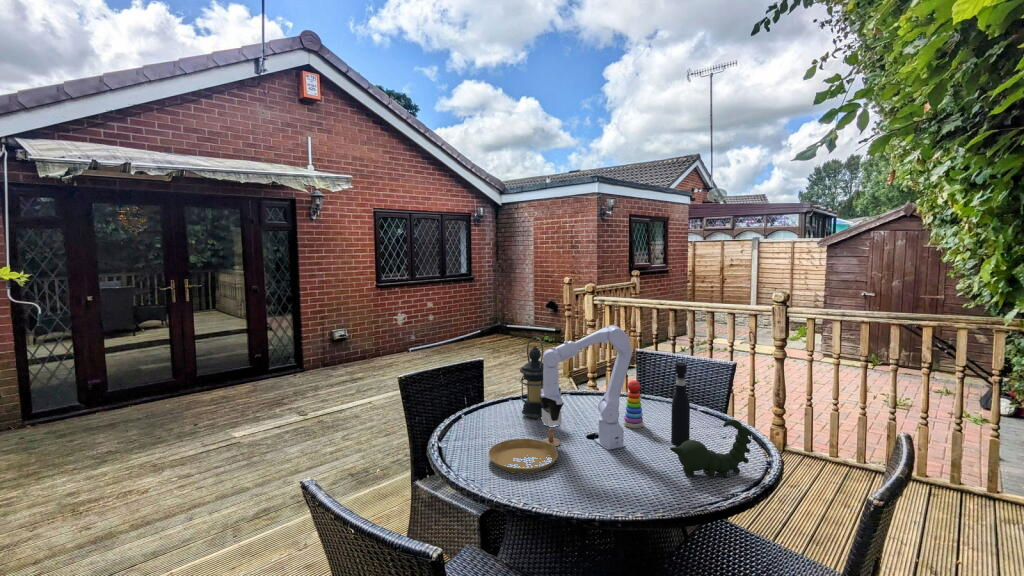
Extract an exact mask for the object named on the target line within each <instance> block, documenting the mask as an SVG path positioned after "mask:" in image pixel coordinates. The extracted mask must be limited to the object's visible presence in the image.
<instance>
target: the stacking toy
mask: <svg viewBox="0 0 1024 576" xmlns="http://www.w3.org/2000/svg"><path fill="white" fill-rule="evenodd" d="M627 389H628V393H627V398H626V403H625V404H626V406H625V412H624V414H625V415H624V418H623V420H624V421H623V425H624V426H625V427H627V428H628V429H629V428H630V429H641V428H643V427H644V425H645V423H644V421H643V420H644V417H643V415H644V413H643V412H642V411H643V408H642V402H641V398H640V397H641V393H640V390H641V384H640V382H639V381H637V380H631V381H628V383H627Z"/></svg>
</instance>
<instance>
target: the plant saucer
mask: <svg viewBox="0 0 1024 576" xmlns="http://www.w3.org/2000/svg"><path fill="white" fill-rule="evenodd" d="M487 454H488V457H489V459H490V461H491V463H492V464H493V465H495V466H496V467H497V468H499V469H501V470H502V469H503V471H505V472H508V471H509V472H508V473H511V472H514V473H513V474H518V473H529V474H534V472H536V473H539V471H540V472H542V470H543V471H545V470H546V469H549V468H550V467H551V466H552V465H554V463H555V462H556V461H557V459H558V457H559V452H558V449H557V447H554V446H552V445H551V444H549V443H546V442H543V441H542V440H538V439H534V438H512V439H507V440H503V441H500V442H498V443H496V444H494V445H492V446H491V448H489V450H488V453H487ZM527 455H528V456H527ZM548 455H550V456H548ZM514 457H515V458H521V459H522V458H524V457H536V458H538V459H534V461H535V462H533V463H529V462H528V463H529V464H531V465H532V466H533V467H535V468H513V467H507V466H508V464H518V466H520V467H527V466H526V465H525V464H526V463H524V462H523V461H521V462H517V461H513V458H514ZM546 457H547V458H548V457H551V458H552V462H551V463H549V464H547V465H544V466H540V467H536V466H534V465H538V466H539V464H540V463H539V462H541V463H542V464H543V463H544V462H542V461H544V460H545V461H546V460H547V459H545V458H546ZM540 458H541V459H540ZM504 465H506V466H504ZM529 467H531V466H529Z"/></svg>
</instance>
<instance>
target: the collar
mask: <svg viewBox="0 0 1024 576" xmlns="http://www.w3.org/2000/svg"><path fill="white" fill-rule="evenodd" d="M541 422H542V423H545V424H546V425H547V426H553V425H559V424H560V425H562V422H563V421H562V409H561V410H560V413H559V417H558V420H556V421H552V418H551V411H550V407H548V408H542V417H541Z"/></svg>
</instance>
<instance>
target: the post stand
mask: <svg viewBox="0 0 1024 576" xmlns="http://www.w3.org/2000/svg"><path fill="white" fill-rule="evenodd" d="M541 441H543V442H546V443H549V444H551V445H552V446H554V447H555V448H557V447H556V446H558V447H560V446H561V440H560V439H559V438H555V437H554V428H548V437H547V438H544V439H542V440H541ZM559 445H560V446H559Z"/></svg>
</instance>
